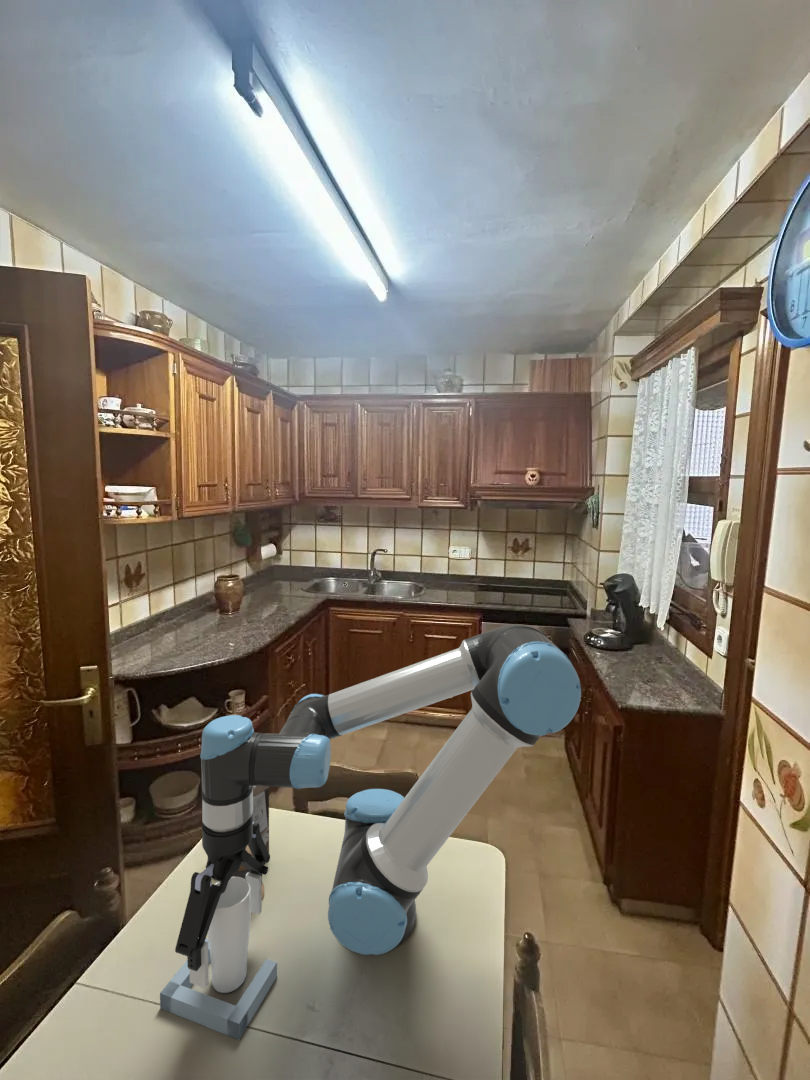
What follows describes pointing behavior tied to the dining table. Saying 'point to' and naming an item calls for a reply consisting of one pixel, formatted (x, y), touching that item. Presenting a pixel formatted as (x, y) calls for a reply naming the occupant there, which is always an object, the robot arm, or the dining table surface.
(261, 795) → the coffee box
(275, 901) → the dining table surface
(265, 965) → the blue u-shaped block
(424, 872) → the robot arm
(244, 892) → the drinking glass
